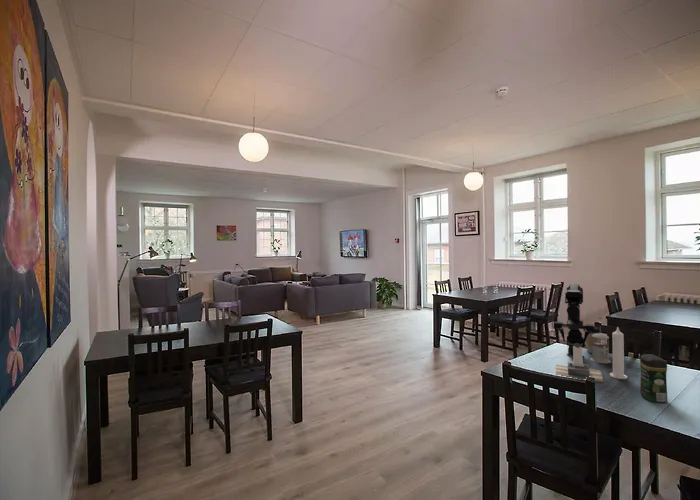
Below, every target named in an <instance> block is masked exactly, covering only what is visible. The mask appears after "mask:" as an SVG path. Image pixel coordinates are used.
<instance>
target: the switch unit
mask: <svg viewBox="0 0 700 500" xmlns="http://www.w3.org/2000/svg"><path fill="white" fill-rule="evenodd" d="M556 375H561V376H566V377H572V378H577V379H576V380H578V379H586V377H589V376H591V377H594V378H595V380H596V382H595V383H600V384H604V377H603V375H602V371H601V369H600V370H599V369H593V368H589V365H588V364H586V363H583V365H575V364H573V362H570V361H568V362H567V365H560V364H555V376H556Z"/></svg>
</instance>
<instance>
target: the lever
mask: <svg viewBox="0 0 700 500" xmlns="http://www.w3.org/2000/svg"><path fill="white" fill-rule="evenodd" d="M582 356H583V347H581V345H580V344H579V343H575V344H574V346H573V357H572V359H573V360H572V361H573V362H572V363H573V364H575V365H583V364H584V363H583V361H584V360H583V358H584V357H582Z"/></svg>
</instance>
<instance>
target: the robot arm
mask: <svg viewBox="0 0 700 500" xmlns="http://www.w3.org/2000/svg"><path fill="white" fill-rule="evenodd" d="M564 295H565V297H564V304H567V307H566V312H567V313H566V314H567V321H566V323H563V321H555V322H554V323H553V328H554V329H556V330H557V331H559V333H560V335H561V337H562V340H563V342H566V346H567V353H566V355H567V356H570V357H572V358H573V346H574V344H575V343H579V344H580V345H581V347H582V348H586V338H587V336H588V334H589V333H592V332H595V327H596V326H595V325H594V324H587V323H586V324H585V325H584V321H583V320H581V305H582V304H583V303H584V289H583V287H581V285H580V284H579V283H569V286H568V287H566V292H565V293H564ZM564 328H567V329H569V331H568V332H567V334H566V337H565V331H564ZM581 329H582V330H584V329H585V331H584V336H583V334H582V332H581ZM565 338H566V339H565ZM582 357H583V358H585V356H584V355H582Z"/></svg>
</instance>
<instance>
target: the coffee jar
mask: <svg viewBox="0 0 700 500" xmlns="http://www.w3.org/2000/svg"><path fill="white" fill-rule="evenodd" d="M639 364H640V365H639V366H640V387H639V388H640V390H639V391H640V394H641V396H642V397H643V398H644V399H646V400H647V401H650V402H654V403H659V404H662V403H667V402H668V387H667V370H668V364H667V361H666V360H665V359H663V358H661V357H659V356H657V355H655V354H652V353H651V354H647V353H643V354H642V355H640V359H639Z"/></svg>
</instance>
